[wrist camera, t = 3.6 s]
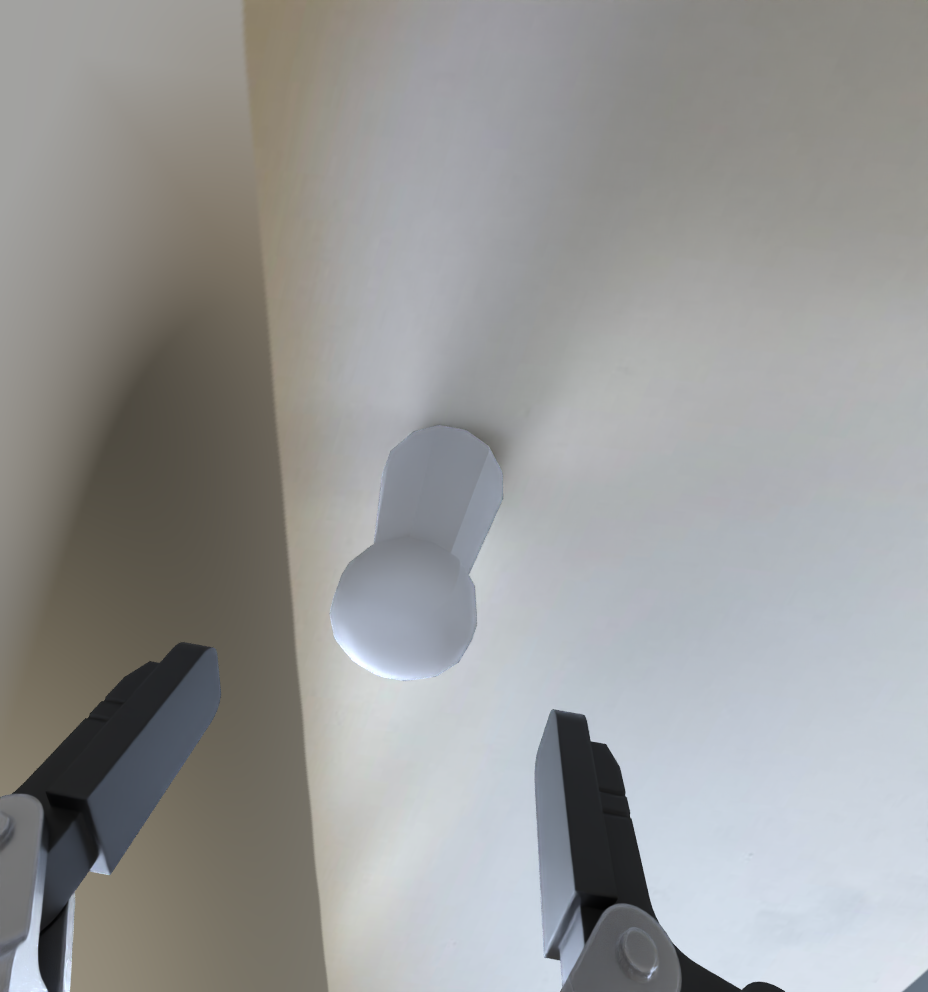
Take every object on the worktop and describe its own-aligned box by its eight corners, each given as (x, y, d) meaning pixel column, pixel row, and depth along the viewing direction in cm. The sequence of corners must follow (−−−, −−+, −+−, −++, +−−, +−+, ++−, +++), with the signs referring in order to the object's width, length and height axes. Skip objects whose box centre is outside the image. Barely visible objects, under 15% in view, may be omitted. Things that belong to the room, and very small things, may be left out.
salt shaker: (504, 516, 26) (502, 720, 14) (400, 517, 26) (315, 714, 15) (502, 410, 23) (498, 550, 12) (387, 413, 24) (273, 551, 12)
